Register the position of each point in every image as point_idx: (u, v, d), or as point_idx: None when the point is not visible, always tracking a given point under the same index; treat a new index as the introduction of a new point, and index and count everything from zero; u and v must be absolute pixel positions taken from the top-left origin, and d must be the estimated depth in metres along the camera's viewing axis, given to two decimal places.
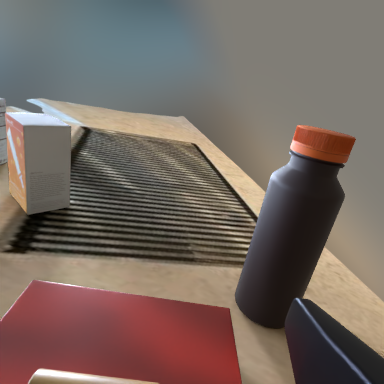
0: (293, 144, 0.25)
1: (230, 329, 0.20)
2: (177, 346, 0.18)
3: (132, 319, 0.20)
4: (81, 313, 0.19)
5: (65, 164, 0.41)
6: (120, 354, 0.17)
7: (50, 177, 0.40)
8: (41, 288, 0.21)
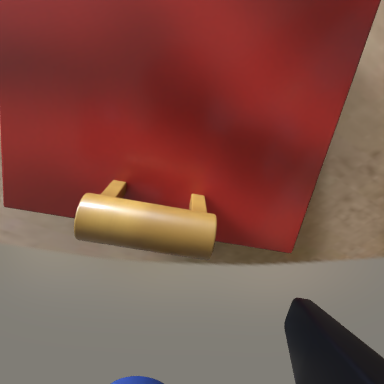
0: None
1: (358, 52, 0.12)
2: (260, 83, 0.12)
3: (195, 26, 0.12)
4: (109, 10, 0.11)
5: None
6: (178, 93, 0.13)
7: None
8: None
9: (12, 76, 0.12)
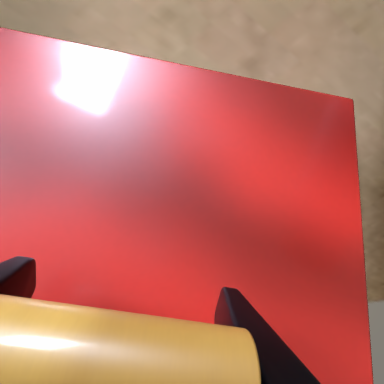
0: None
1: (352, 140, 0.11)
2: (258, 168, 0.10)
3: (178, 114, 0.11)
4: (84, 98, 0.10)
5: None
6: (159, 178, 0.10)
7: None
8: (3, 44, 0.11)
9: None
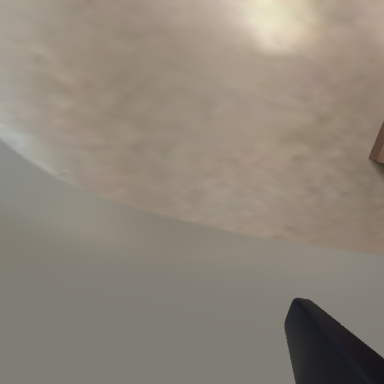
0: None
1: None
2: None
3: None
4: None
5: None
6: None
7: None
8: None
9: None
